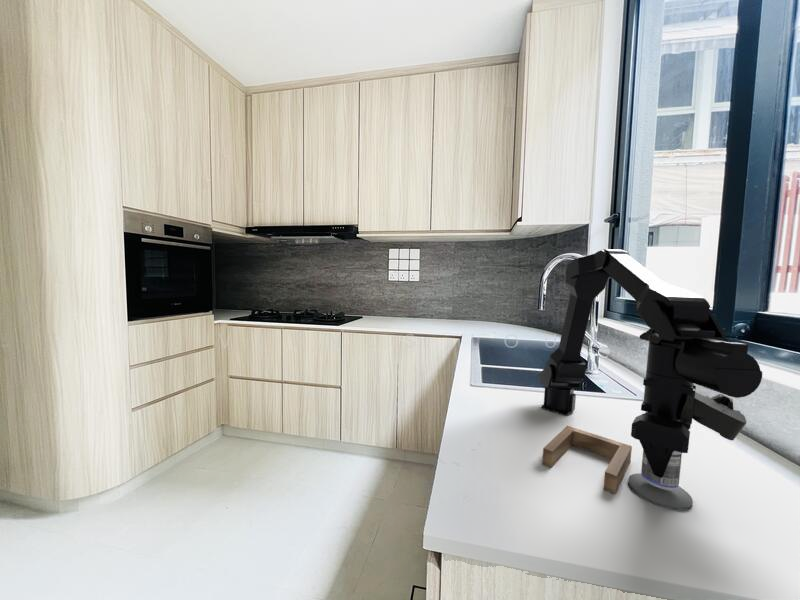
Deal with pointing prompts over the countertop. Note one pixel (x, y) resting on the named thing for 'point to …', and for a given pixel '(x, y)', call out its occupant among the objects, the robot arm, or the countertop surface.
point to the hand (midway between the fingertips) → (660, 469)
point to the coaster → (660, 494)
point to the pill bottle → (670, 475)
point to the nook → (592, 443)
